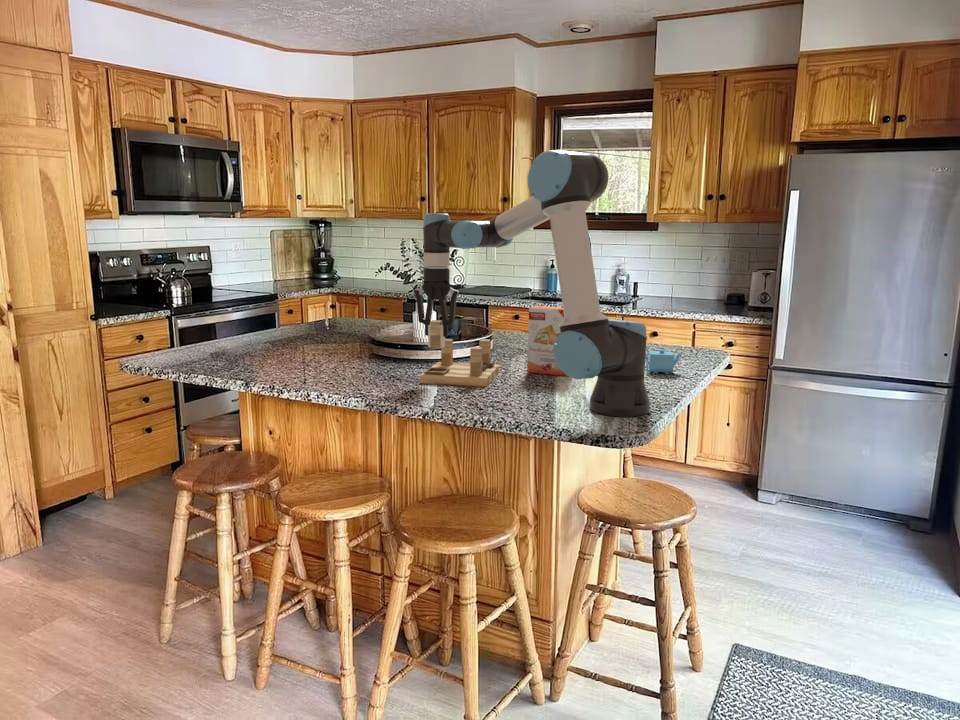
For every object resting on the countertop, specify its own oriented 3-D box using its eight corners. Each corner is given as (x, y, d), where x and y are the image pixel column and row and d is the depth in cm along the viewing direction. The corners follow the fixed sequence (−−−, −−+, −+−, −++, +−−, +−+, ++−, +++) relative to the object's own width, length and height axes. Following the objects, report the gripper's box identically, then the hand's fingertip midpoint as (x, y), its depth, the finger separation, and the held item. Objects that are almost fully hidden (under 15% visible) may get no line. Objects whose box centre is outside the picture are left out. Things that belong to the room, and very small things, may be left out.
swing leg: (483, 371, 213) (483, 345, 212) (473, 371, 214) (473, 344, 212) (490, 364, 224) (490, 339, 222) (481, 364, 224) (481, 339, 223)
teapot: (682, 371, 229) (683, 348, 228) (683, 375, 224) (685, 352, 222) (643, 370, 232) (645, 347, 230) (644, 374, 226) (645, 350, 224)
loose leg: (440, 348, 210) (440, 321, 209) (430, 348, 211) (430, 321, 209) (442, 347, 213) (442, 320, 212) (433, 346, 214) (433, 320, 212)
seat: (486, 386, 207) (487, 351, 205) (420, 383, 211) (420, 348, 209) (499, 372, 226) (499, 339, 224) (438, 369, 230) (438, 337, 228)
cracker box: (526, 373, 226) (528, 307, 222) (532, 369, 231) (533, 305, 227) (569, 377, 221) (572, 309, 216) (574, 373, 226) (577, 307, 222)
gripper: (466, 267, 209) (465, 346, 214) (413, 265, 213) (414, 343, 217) (460, 269, 202) (460, 350, 207) (406, 267, 205) (406, 347, 210)
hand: (436, 346), depth 212 cm, fingers closed on loose leg, 3 cm apart
